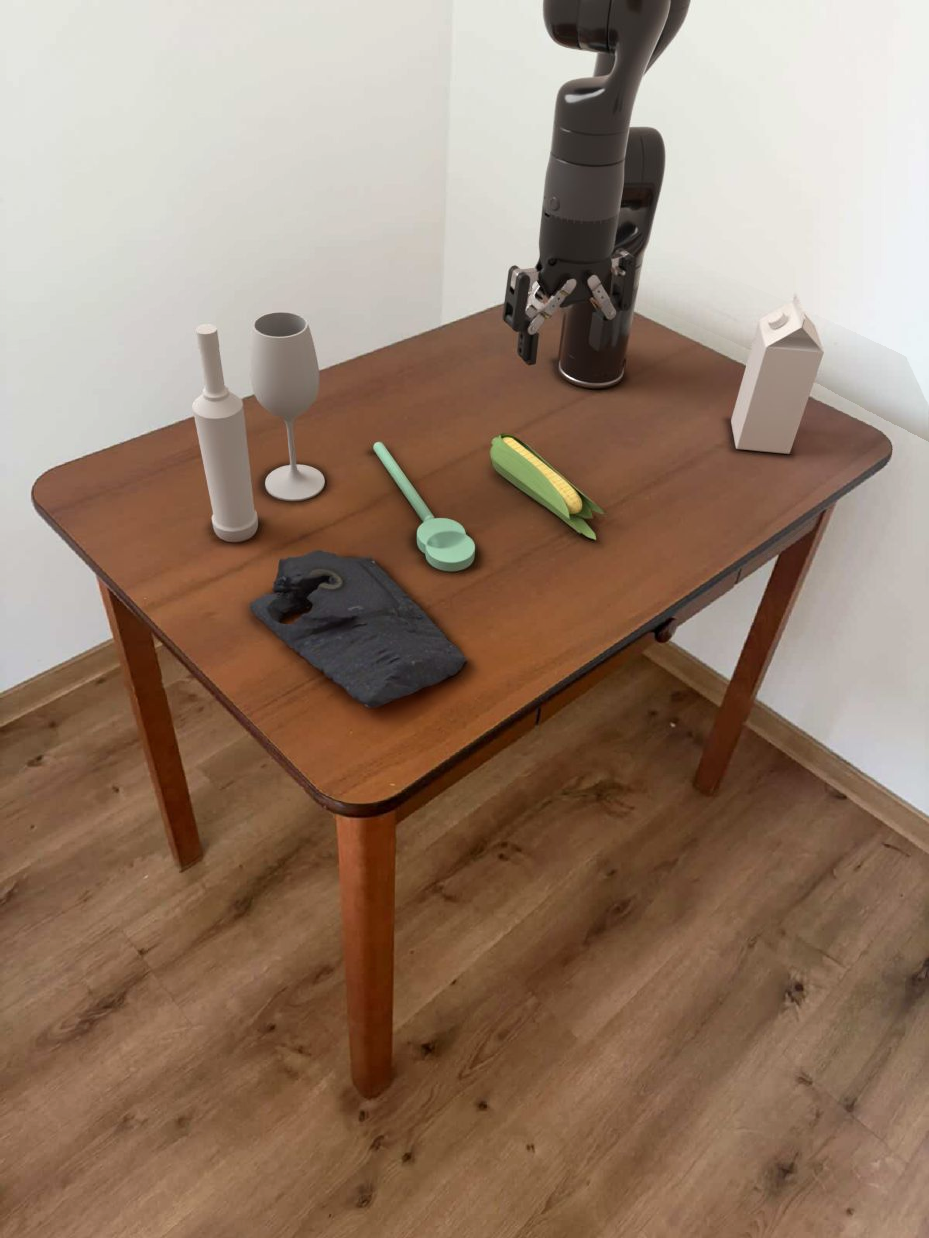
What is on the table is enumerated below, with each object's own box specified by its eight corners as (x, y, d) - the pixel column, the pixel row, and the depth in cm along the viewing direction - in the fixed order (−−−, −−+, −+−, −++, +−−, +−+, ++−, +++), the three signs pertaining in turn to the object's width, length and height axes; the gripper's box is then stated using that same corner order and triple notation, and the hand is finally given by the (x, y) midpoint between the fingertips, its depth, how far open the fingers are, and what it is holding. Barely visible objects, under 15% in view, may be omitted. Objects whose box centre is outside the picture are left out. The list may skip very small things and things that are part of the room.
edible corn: (509, 452, 125) (512, 422, 122) (612, 535, 114) (618, 504, 111) (477, 464, 123) (479, 434, 120) (579, 550, 111) (584, 519, 108)
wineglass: (300, 457, 122) (287, 301, 107) (338, 485, 118) (330, 327, 104) (251, 481, 118) (230, 322, 103) (289, 510, 114) (272, 349, 100)
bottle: (221, 548, 109) (187, 346, 91) (207, 522, 112) (172, 322, 95) (265, 536, 111) (240, 336, 93) (250, 511, 114) (224, 312, 96)
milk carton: (782, 426, 133) (824, 295, 119) (789, 455, 128) (834, 322, 114) (730, 421, 133) (766, 289, 120) (735, 450, 128) (774, 316, 115)
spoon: (356, 453, 123) (356, 444, 122) (397, 444, 125) (397, 435, 124) (437, 576, 107) (437, 567, 106) (482, 564, 109) (483, 555, 108)
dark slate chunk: (351, 737, 90) (349, 704, 87) (240, 604, 102) (235, 570, 99) (480, 669, 97) (483, 636, 94) (362, 552, 109) (361, 519, 106)
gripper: (623, 180, 98) (600, 328, 109) (498, 197, 93) (488, 350, 105) (664, 207, 93) (636, 359, 105) (535, 227, 89) (520, 383, 100)
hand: (562, 354), depth 105 cm, fingers open, 8 cm apart
